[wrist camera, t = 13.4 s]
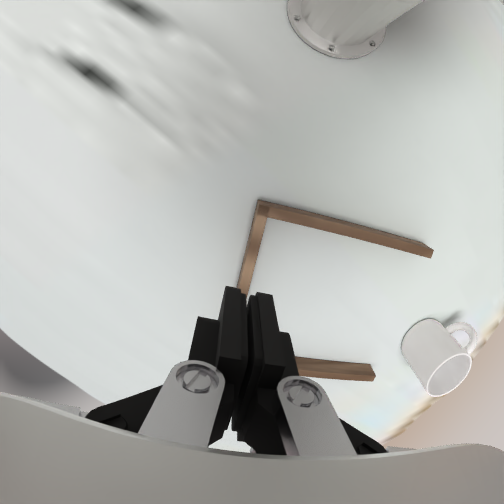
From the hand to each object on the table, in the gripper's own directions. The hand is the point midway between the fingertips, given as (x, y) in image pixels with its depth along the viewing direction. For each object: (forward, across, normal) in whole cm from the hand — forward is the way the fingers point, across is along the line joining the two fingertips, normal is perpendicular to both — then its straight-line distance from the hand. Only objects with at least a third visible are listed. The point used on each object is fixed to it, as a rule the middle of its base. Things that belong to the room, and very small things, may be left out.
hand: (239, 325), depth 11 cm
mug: (+27, -35, +14) cm, 46 cm away
